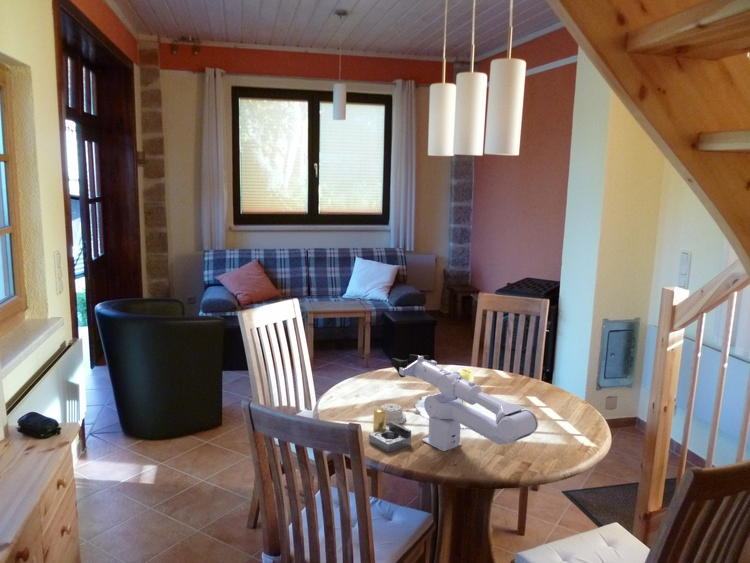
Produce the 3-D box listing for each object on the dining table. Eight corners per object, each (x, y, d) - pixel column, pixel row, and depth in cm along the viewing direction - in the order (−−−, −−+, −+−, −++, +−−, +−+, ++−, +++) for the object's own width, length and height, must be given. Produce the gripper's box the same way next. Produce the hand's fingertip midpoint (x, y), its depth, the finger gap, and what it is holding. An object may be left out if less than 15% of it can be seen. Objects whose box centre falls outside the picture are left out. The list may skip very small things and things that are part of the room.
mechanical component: (373, 423, 197) (403, 426, 195) (373, 410, 196) (403, 413, 194) (379, 412, 207) (407, 415, 205) (379, 400, 206) (408, 403, 204)
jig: (410, 444, 181) (411, 430, 180) (388, 452, 175) (388, 438, 175) (391, 434, 188) (391, 421, 187) (369, 441, 182) (369, 427, 182)
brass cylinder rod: (388, 432, 190) (389, 411, 189) (378, 435, 187) (379, 414, 186) (380, 428, 193) (380, 407, 192) (370, 431, 190) (371, 410, 189)
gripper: (447, 357, 188) (418, 344, 198) (414, 365, 179) (385, 351, 189) (445, 378, 190) (416, 364, 200) (411, 387, 180) (383, 371, 191)
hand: (401, 359), depth 194 cm, fingers open, 7 cm apart
